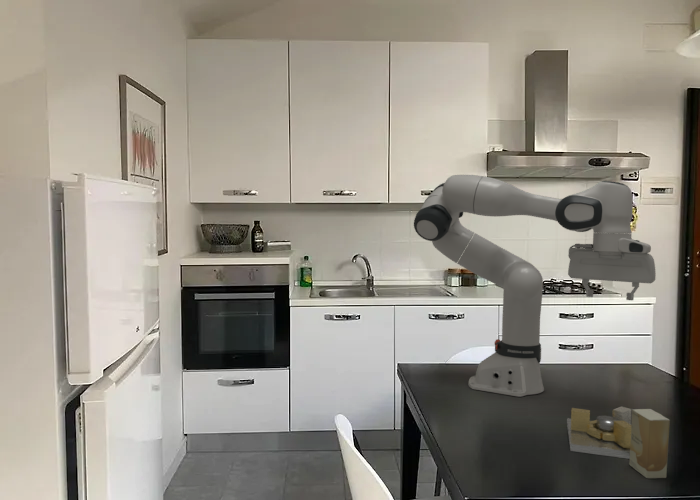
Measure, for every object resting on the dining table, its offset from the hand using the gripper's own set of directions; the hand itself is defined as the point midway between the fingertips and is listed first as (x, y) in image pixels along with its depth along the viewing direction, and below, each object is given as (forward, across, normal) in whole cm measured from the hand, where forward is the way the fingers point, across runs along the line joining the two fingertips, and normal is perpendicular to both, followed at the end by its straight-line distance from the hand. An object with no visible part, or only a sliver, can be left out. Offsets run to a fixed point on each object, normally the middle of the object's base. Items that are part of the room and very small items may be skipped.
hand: (609, 298), depth 140 cm
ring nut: (+30, +2, -16) cm, 34 cm away
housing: (+32, +3, -16) cm, 36 cm away
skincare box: (+32, +12, -28) cm, 44 cm away
